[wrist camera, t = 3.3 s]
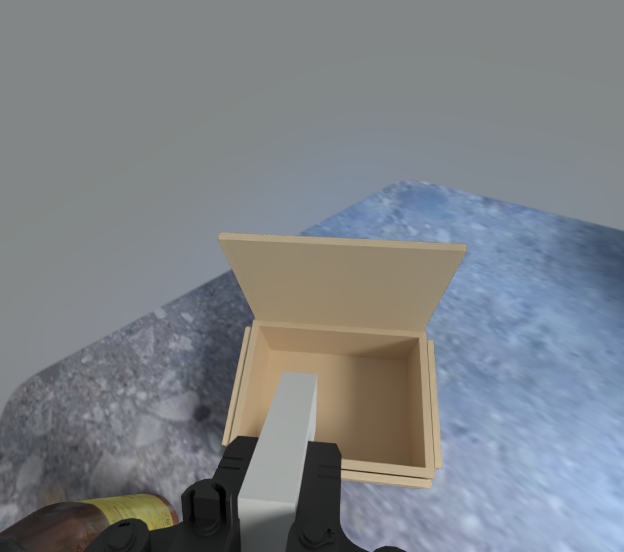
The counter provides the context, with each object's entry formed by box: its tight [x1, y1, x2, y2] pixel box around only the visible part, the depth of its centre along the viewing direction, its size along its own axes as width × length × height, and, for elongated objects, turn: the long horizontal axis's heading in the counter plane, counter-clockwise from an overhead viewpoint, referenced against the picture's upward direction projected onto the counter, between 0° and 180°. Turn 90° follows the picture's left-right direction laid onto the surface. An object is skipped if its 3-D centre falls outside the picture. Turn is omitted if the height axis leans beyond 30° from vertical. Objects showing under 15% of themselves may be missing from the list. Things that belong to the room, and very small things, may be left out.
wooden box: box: [222, 319, 442, 489], centre depth 32 cm, size 16×12×7 cm
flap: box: [218, 233, 467, 332], centre depth 26 cm, size 14×1×12 cm, turn 84°
